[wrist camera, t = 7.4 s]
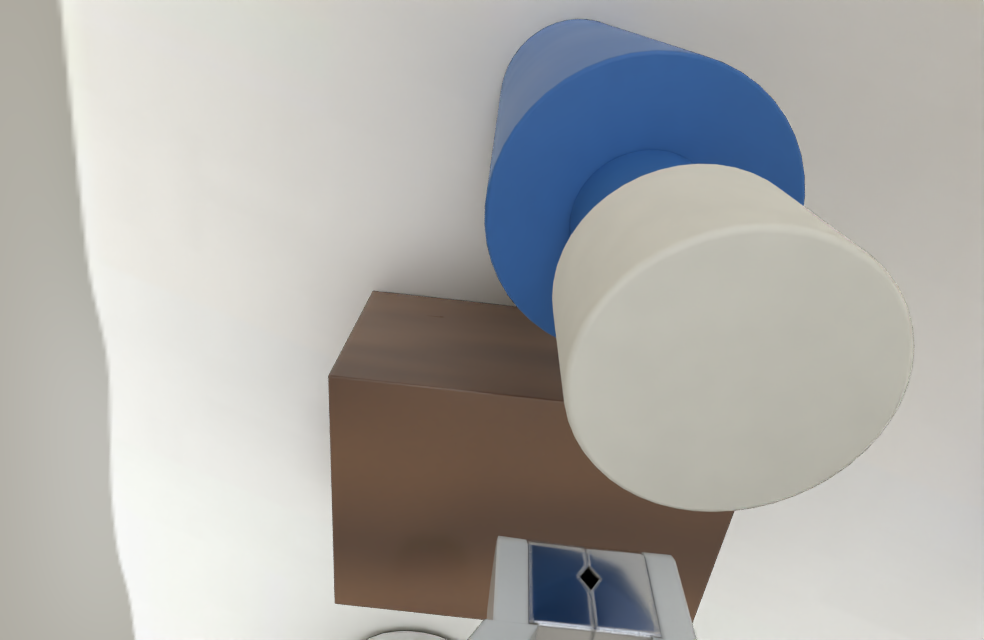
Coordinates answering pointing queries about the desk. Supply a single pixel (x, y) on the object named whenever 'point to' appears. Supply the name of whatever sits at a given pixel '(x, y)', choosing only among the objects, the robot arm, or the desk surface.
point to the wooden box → (471, 461)
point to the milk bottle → (406, 636)
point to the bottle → (686, 273)
